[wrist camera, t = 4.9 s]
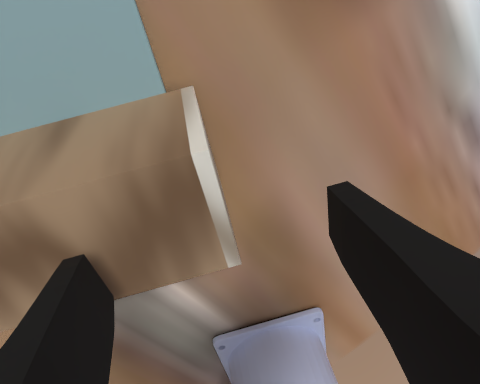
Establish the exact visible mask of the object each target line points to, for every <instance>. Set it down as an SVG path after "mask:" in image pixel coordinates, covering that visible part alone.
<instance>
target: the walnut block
mask: <svg viewBox="0 0 480 384" xmlns="http://www.w3.org/2000/svg"><path fill="white" fill-rule="evenodd" d="M82 254H84V255H85V256H86V258H87V259H88V260H89V262H90V263H91V265H92V266H93V267H94V269H95V270H96V272H97V273H98V275H99V276H100V277H101V279H102V280H103V282H104V283H105V284H106V286H107V287H108V289H109V290H110V292H111V293H112V294H113V296H114V300H116V299H120V298H123V297H127V296H130V295H134V294H138V293H141V292H145V291H148V290H152V289H155V288H159V287H162V286H166V285H169V284H173V283H177V282H180V281H184V280H187V279H191V278H194V277H198V276H201V275H205V274H208V273H212V272H215V271H219V270H223V269H226V268H230V267H233V266H237V265H240V264H242V263H241V259H240V255H239V252H238V248H237V244H236V240H235V236H234V232H233V228H232V224H231V220H230V217H229V213H228V209H227V205H226V201H225V197H224V193H223V189H222V186H221V182H220V179H219V175H218V172H217V168H216V165H215V161H214V158H213V154H212V151H211V147H210V144H209V140H208V136H207V133H206V129H205V126H204V122H203V119H202V115H201V112H200V108H199V105H198V101H197V98H196V94H195V91H194V87H193V86H190V87H186V88H182V89H178V90H174V91H171V92H167V93H163V94H159V95H155V96H152V97H148V98H144V99H140V100H136V101H133V102H129V103H125V104H121V105H117V106H114V107H110V108H106V109H102V110H99V111H95V112H91V113H87V114H83V115H80V116H76V117H72V118H68V119H64V120H61V121H57V122H53V123H49V124H45V125H42V126H38V127H34V128H30V129H26V130H23V131H19V132H15V133H11V134H7V135H4V136H0V332H3V331H6V330H10V329H14V328H16V327H17V326H18V324H19V323H20V321H21V320H22V319H23V317H24V316H25V314H26V313H27V311H28V310H29V308H30V307H31V306H32V304H33V303H34V301H35V300H36V298H37V297H38V295H39V294H40V292H41V291H42V289H43V288H44V286H45V285H46V283H47V282H48V280H49V279H50V277H51V276H52V274H53V273H54V272H55V270H56V269H57V267H58V266H59V265H60V263H61V262H62V260H64V259H68V258H71V257H75V256H78V255H82Z"/></svg>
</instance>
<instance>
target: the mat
mask: <svg viewBox="0 0 480 384" xmlns="http://www.w3.org/2000/svg"><path fill="white" fill-rule="evenodd" d="M163 93H166V90H165V87H164V84H163V81H162V78H161V75H160V72H159V70H158V67H157V64H156V61H155V58H154V55H153V52H152V49H151V46H150V43H149V40H148V37H147V34H146V31H145V28H144V25H143V22H142V19H141V16H140V13H139V11H138V8H137V5H136V2H135V0H0V136H4V135H7V134H11V133H15V132H19V131H23V130H26V129H30V128H34V127H38V126H42V125H45V124H49V123H53V122H57V121H61V120H64V119H68V118H72V117H76V116H80V115H83V114H87V113H91V112H95V111H99V110H102V109H106V108H110V107H114V106H117V105H121V104H125V103H129V102H133V101H136V100H140V99H144V98H148V97H152V96H155V95H159V94H163Z"/></svg>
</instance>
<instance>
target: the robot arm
mask: <svg viewBox="0 0 480 384" xmlns="http://www.w3.org/2000/svg"><path fill="white" fill-rule="evenodd" d="M327 197H328V219H329V236H330V238H331V241H332V243H333V245H334V247H335V250H336V252H337V254H338V256H339V258H340V260H341V263H342V265H343V266H344V268H345V270H346V271H347V273H348V275H349V276H350V278H351V280H352V281H353V283H354V285H355V286H356V288H357V290H358V291H359V293H360V294H361V296H362V298H363V299H364V301H365V303H366V304H367V306H368V307H369V309H370V311H371V312H372V314H373V316H374V317H375V319H376V321H377V322H378V324H379V325H380V327H381V329H382V330H383V332H384V334H385V336H386V337H387V339H388V341H389V343H390V345H391V347H392V349H393V351H394V353H395V355H396V357H397V359H398V361H399V363H400V365H401V367H402V369H403V371H404V373H405V375H406V377H407V380H408V382H409V384H480V259H479V258H477V257H475V256H473V255H471V254H469V253H467V252H464V251H462V250H460V249H458V248H456V247H454V246H452V245H450V244H448V243H447V242H445V241H443V240H441V239H439V238H437V237H436V236H434V235H432V234H430V233H428V232H426V231H425V230H423V229H421V228H420V227H418V226H416V225H414V224H413V223H411V222H410V221H408V220H406V219H405V218H403V217H401V216H400V215H398V214H396V213H395V212H393V211H392V210H390V209H389V208H387V207H385V206H384V205H382V204H381V203H379V202H378V201H376V200H375V199H373V198H372V197H370V196H369V195H367V194H366V193H364V192H363V191H361V190H360V189H358V188H357V187H355V186H354V185H352V184H351V183H349V182H348V181H346V182H342V183H339V184H335V185H332V186H328V187H327ZM113 339H114V296H113V294H112V293H111V292H110V290H109V289H108V287H107V286H106V284H105V283H104V282H103V280H102V279H101V277H100V276H99V275H98V273H97V272H96V270H95V269H94V267H93V266H92V265H91V263H90V262H89V260H88V259H87V258H86V256H85V255H84V254H82V255H78V256H75V257H71V258H68V259H64V260H62V262H61V263H60V265H59V266H58V267H57V269H56V270H55V272H54V273H53V274H52V276H51V277H50V279H49V280H48V282H47V283H46V285H45V286H44V288H43V289H42V291H41V292H40V294H39V295H38V297H37V298H36V300H35V301H34V303H33V304H32V306H31V307H30V308H29V310H28V311H27V313H26V314H25V316H24V317H23V319H22V320H21V321H20V323H19V324H18V326H17V327H16V329H15V330H14V332H13V333H12V334H11V336H10V337H9V338H8V340H7V341H6V342H5V344H4V345H3V346H2V348H1V349H0V384H108V383H109V374H110V366H111V357H112V348H113ZM213 346H214V348H215V350H216V352H217V354H218V357H219V359H220V361H221V363H222V365H223V367H224V369H225V371H226V373H227V375H228V377H229V380H230V382H231V384H338V383H337V380H336V378H335V375H334V373H333V370H332V368H331V365H330V363H329V360H328V358H327V355H326V343H325V330H324V317H323V312H322V310H321V308H312V309H309V310H305V311H302V312H298V313H295V314H291V315H288V316H284V317H281V318H278V319H274V320H271V321H267V322H264V323H260V324H257V325H253V326H250V327H246V328H243V329H239V330H236V331H232V332H229V333H226V334H222V335H219V336H216V337H215V338H213Z"/></svg>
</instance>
